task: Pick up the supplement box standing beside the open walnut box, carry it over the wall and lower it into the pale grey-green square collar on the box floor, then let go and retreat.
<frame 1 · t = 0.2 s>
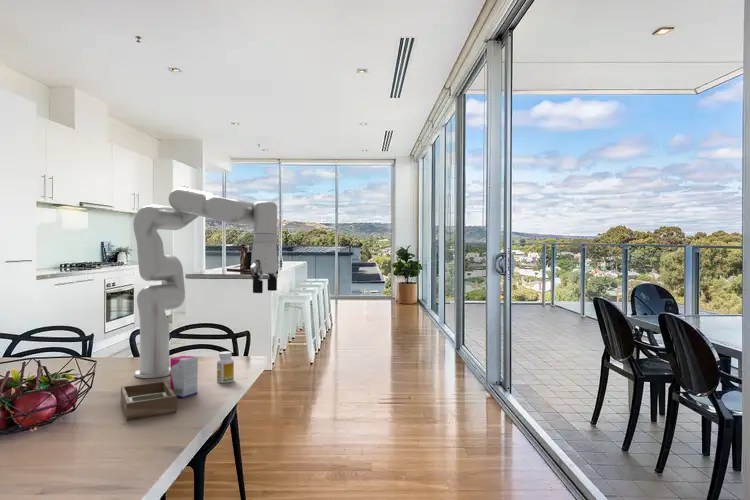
hand: (265, 291, 158), 31 cm above the table, tool pointing down, fingers open, 9 cm apart
walnut box: (147, 407, 136), on the table
supplement box: (183, 395, 148), on the table
supplement bottle: (225, 381, 163), on the table
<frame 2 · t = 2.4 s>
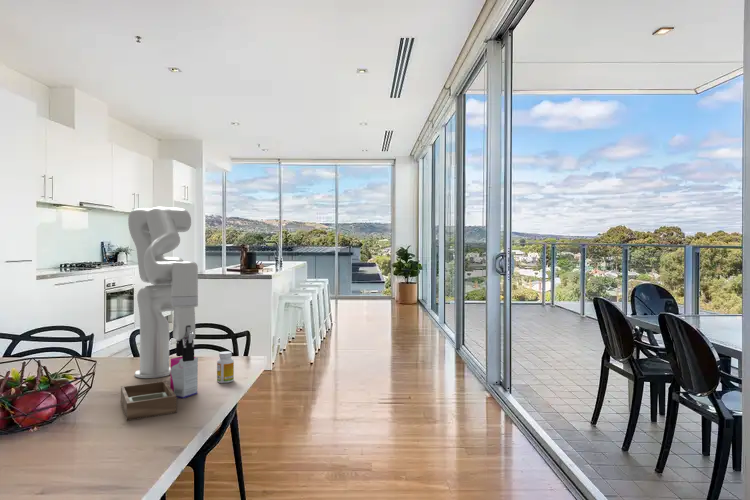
hand: (185, 358, 147), 11 cm above the table, tool pointing down, fingers open, 9 cm apart
supplement box: (183, 395, 148), on the table, touching gripper
everything else where it was.
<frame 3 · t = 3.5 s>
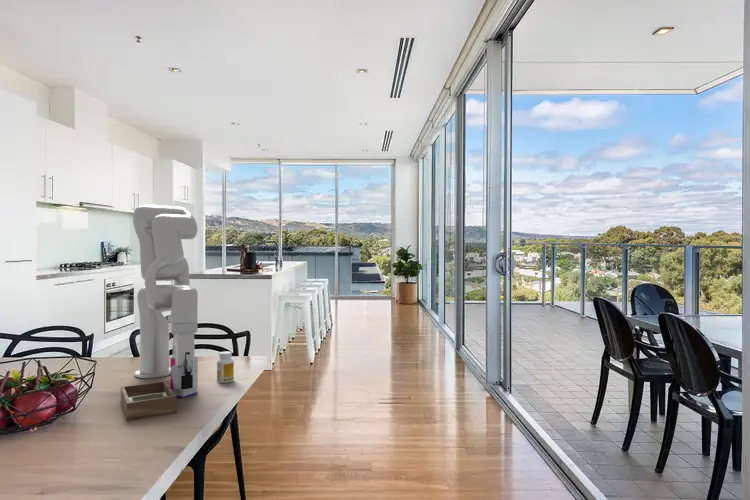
hand: (184, 384, 148), 3 cm above the table, tool pointing down, fingers closed on supplement box, 7 cm apart
supplement box: (183, 395, 148), on the table, touching gripper
everything else where it was.
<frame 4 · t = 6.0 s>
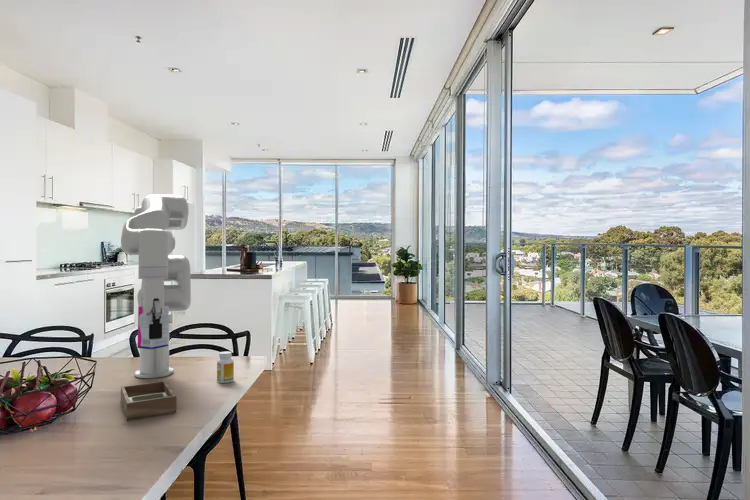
hand: (152, 336, 134), 20 cm above the table, tool pointing down, fingers closed on supplement box, 7 cm apart
supplement box: (153, 347, 135), point 17 cm above the table, touching gripper
everything else where it was.
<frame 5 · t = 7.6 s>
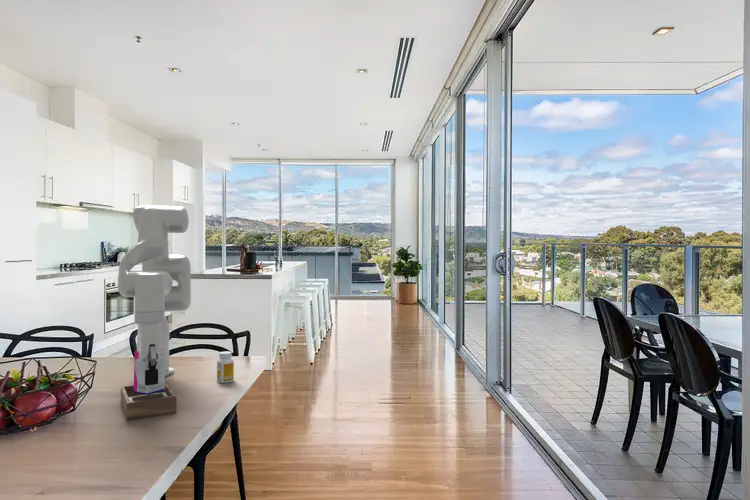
hand: (149, 380, 133), 8 cm above the table, tool pointing down, fingers closed on supplement box, 7 cm apart
supplement box: (149, 392, 133), point 5 cm above the table, touching gripper
everything else where it was.
when the fingers open (5 cm above the table, at t = 8.8 s): supplement box drops 1 cm, resting on walnut box.
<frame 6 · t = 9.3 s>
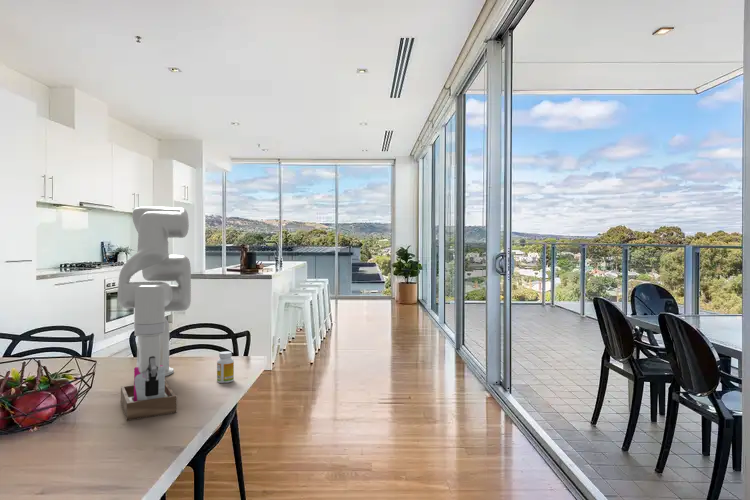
hand: (149, 391, 133), 5 cm above the table, tool pointing down, fingers open, 9 cm apart
supplement box: (149, 408, 134), resting on walnut box
everything else where it was.
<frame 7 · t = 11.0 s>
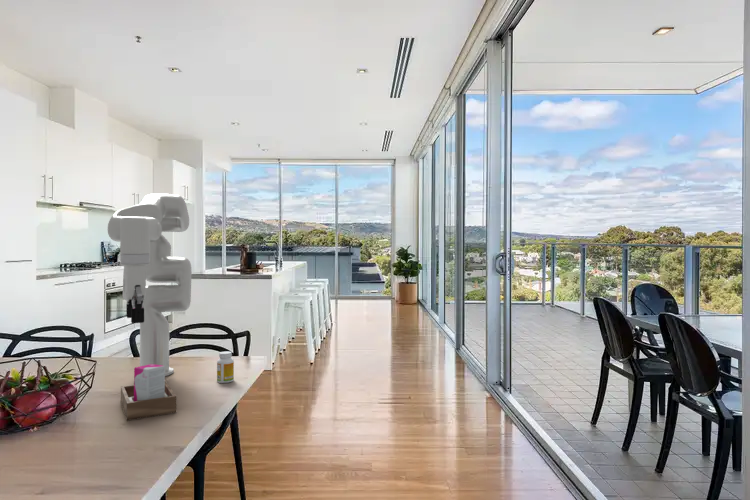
hand: (135, 320, 138), 24 cm above the table, tool pointing down, fingers open, 9 cm apart
nothing on the table moved.
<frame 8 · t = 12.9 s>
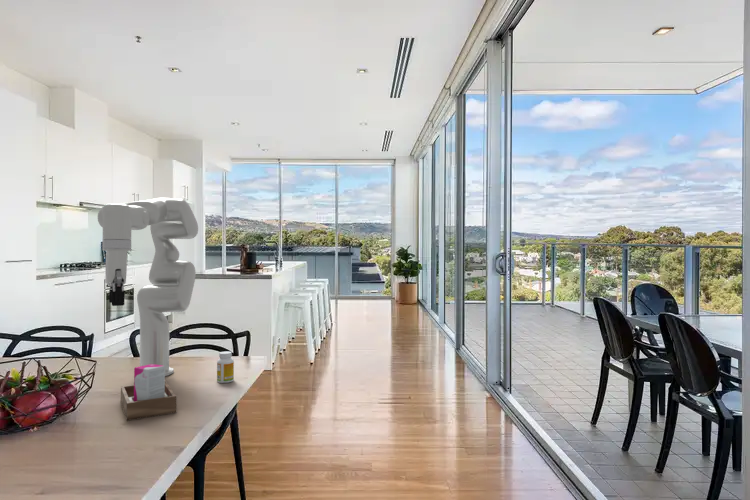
hand: (116, 303, 142), 28 cm above the table, tool pointing down, fingers open, 9 cm apart
nothing on the table moved.
at the end: supplement box 0.2 cm from the target spot on the walnut box, point 0.4 cm above the walnut box's base; supplement box tilted 0°; the gripper is holding nothing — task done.
